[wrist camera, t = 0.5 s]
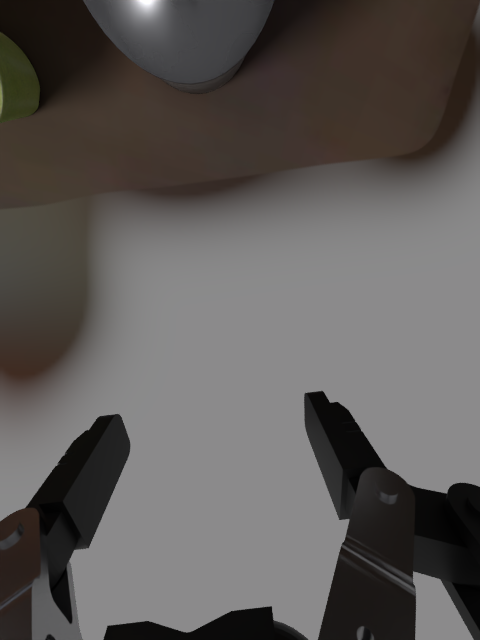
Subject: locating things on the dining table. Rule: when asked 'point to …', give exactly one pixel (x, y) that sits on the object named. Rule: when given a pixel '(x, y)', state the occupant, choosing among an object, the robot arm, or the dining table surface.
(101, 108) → the dining table surface
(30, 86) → the plant pot
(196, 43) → the cooker pot
